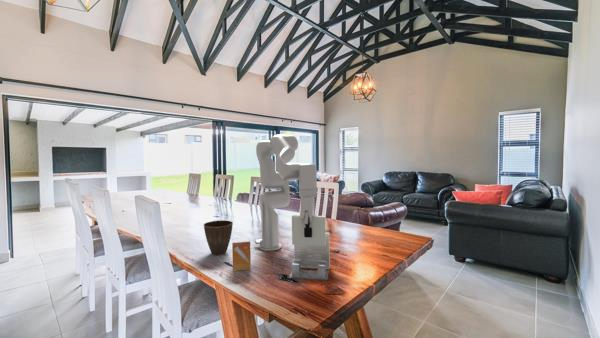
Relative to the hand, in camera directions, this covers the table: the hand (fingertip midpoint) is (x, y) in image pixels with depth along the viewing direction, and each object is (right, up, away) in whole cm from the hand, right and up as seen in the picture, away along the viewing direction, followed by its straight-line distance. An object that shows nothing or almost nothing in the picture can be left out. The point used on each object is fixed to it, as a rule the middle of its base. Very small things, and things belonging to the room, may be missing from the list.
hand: (308, 235), depth 119 cm
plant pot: (-47, -17, +32) cm, 59 cm away
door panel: (0, -4, 0) cm, 4 cm away
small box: (-31, -18, +10) cm, 37 cm away
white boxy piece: (+1, -17, +4) cm, 17 cm away
